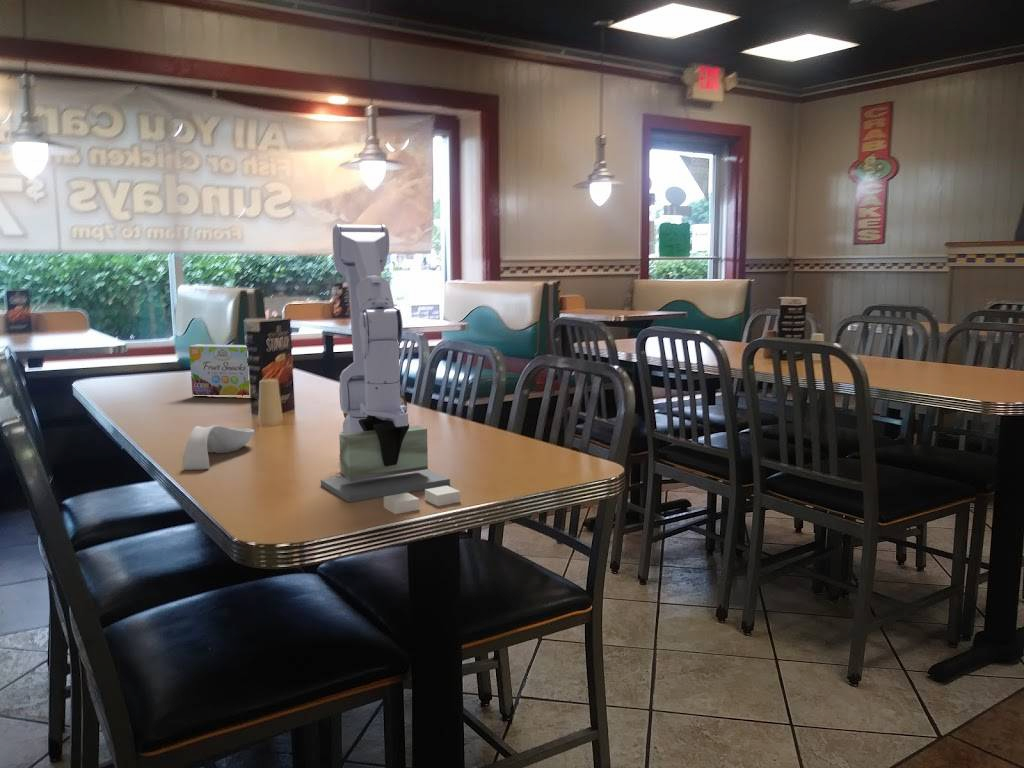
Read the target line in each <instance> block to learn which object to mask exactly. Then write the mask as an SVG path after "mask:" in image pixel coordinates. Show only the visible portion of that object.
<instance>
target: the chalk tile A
mask: <svg viewBox="0 0 1024 768" xmlns="http://www.w3.org/2000/svg"><path fill="white" fill-rule="evenodd" d="M383 508H384V509H385V510H388V511H389V512H390V513H392V514H394V515H398V514H402V513H403V514H405V513H409V512H414V511H420V498H418V496H415V495H414V494H411V493H410V492H406V493H400V494H394V495H389V496H383Z"/></svg>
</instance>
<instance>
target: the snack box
mask: <svg viewBox="0 0 1024 768" xmlns="http://www.w3.org/2000/svg"><path fill="white" fill-rule="evenodd" d="M246 345H247V344H215V343H214V344H212V343H211V344H209V343H208V344H207V343H197V344H192V345H189V346H188V349H189V350H188V351H189V364H190V365H189V367H190V377H191V380H190V381H191V392H192V395H193V394H194V395H242V396H243V395H249V380H248V368H247V366H248V363H247V346H246Z"/></svg>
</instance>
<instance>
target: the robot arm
mask: <svg viewBox="0 0 1024 768" xmlns="http://www.w3.org/2000/svg"><path fill="white" fill-rule="evenodd" d="M388 229H389V228H388V227H387V226H386V225H385V224H380V225H379V224H376V225H375V224H340V223H336V224H335V225H334V226H333V227H332V250H333V264H334V267H335V272H337V273H339V274H341V275H343V276H344V278H345V280H346V285H347V287H348V297H349V311H350V312H349V313H350V314H349V315H350V329H351V342H352V343H351V344H352V357H353V358H352V360H353V362H352V363H350V364H348V366H347V367H346V368H344V369H343V370H342V371H341V373H340V375H339V387H338V388H339V389H338V390H339V404H340V410H341V411H342V412H344V413H347V414H348V415H347V417H346V418H344V420H343V423H342V434H346V433H354V432H362V431H371V430H375V431H376V433H377V436H378V438H379V442H380V446H381V453H382V459H383V463H384V466H391V465H397V462H398V458H399V453H400V449H401V445H402V442H403V439H404V436H405V434H406V432H407V431H408V429H409V426H410V424H409V413H407V412H406V413H405V412H404V411H406V410H407V411H408V405H407V406H404V405H400V394H401V379H400V377H401V374H400V373H401V372H400V371H401V370H400V344H399V343H401V342H402V339H403V333H404V332H403V326H404V325H403V318H402V317H403V316H402V312H401V309H400V307H399V306H398V305H397V304H395V303H394V299H393V296H392V289H391V286H390V283H389V281H388V280H387V279H385V277H382V272H384V271H385V267H386V266H387V260H388V256H389V253H390V233H389V230H388ZM338 457H339V458H340V454H339V455H338Z"/></svg>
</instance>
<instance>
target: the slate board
mask: <svg viewBox="0 0 1024 768" xmlns="http://www.w3.org/2000/svg"><path fill="white" fill-rule="evenodd" d="M450 485H451V479H450V478H449V477H446V476H444V475H442V474H439V473H437V472H435V471H433V470H431V469H429V468H428V469H426V470H420V471H413V472H407V473H400V474H394V475H387V476H381V477H374V478H368V479H362V480H355V481H349V480H347V479H345V478H343V477H342V476H335V477H331V478H330V477H329V478H324V479H320V487H322V488H324V489H326V490H327V491H329V492H331V493H332V494H334V495H336V496H337V497H339V498H340V499H342V500H344V501H345V502H347V503H352V502H358V501H364V500H371V499H376V498H381V497H383V498H384V497H385V496H391V495H396V494H402V493H410V492H416V491H421V490H425V489H430V488H436V487H441V486H450Z"/></svg>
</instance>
